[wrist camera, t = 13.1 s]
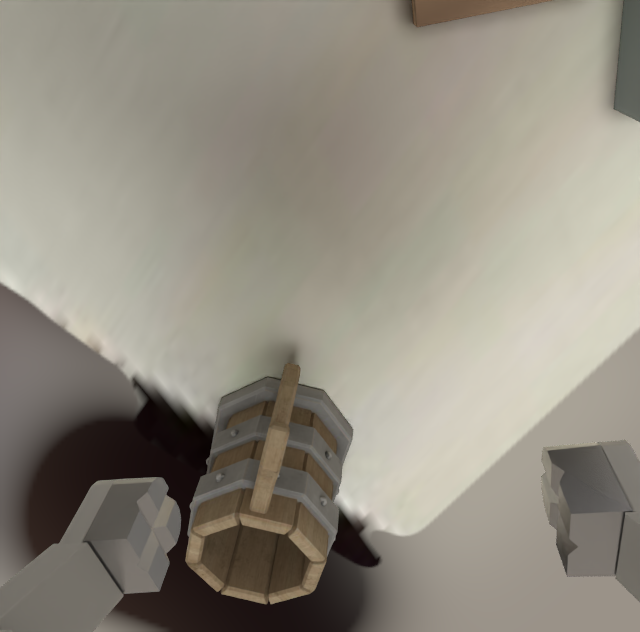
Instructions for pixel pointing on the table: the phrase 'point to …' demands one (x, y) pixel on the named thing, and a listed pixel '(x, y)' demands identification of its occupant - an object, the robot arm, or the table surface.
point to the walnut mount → (459, 9)
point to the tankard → (269, 491)
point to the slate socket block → (629, 62)
